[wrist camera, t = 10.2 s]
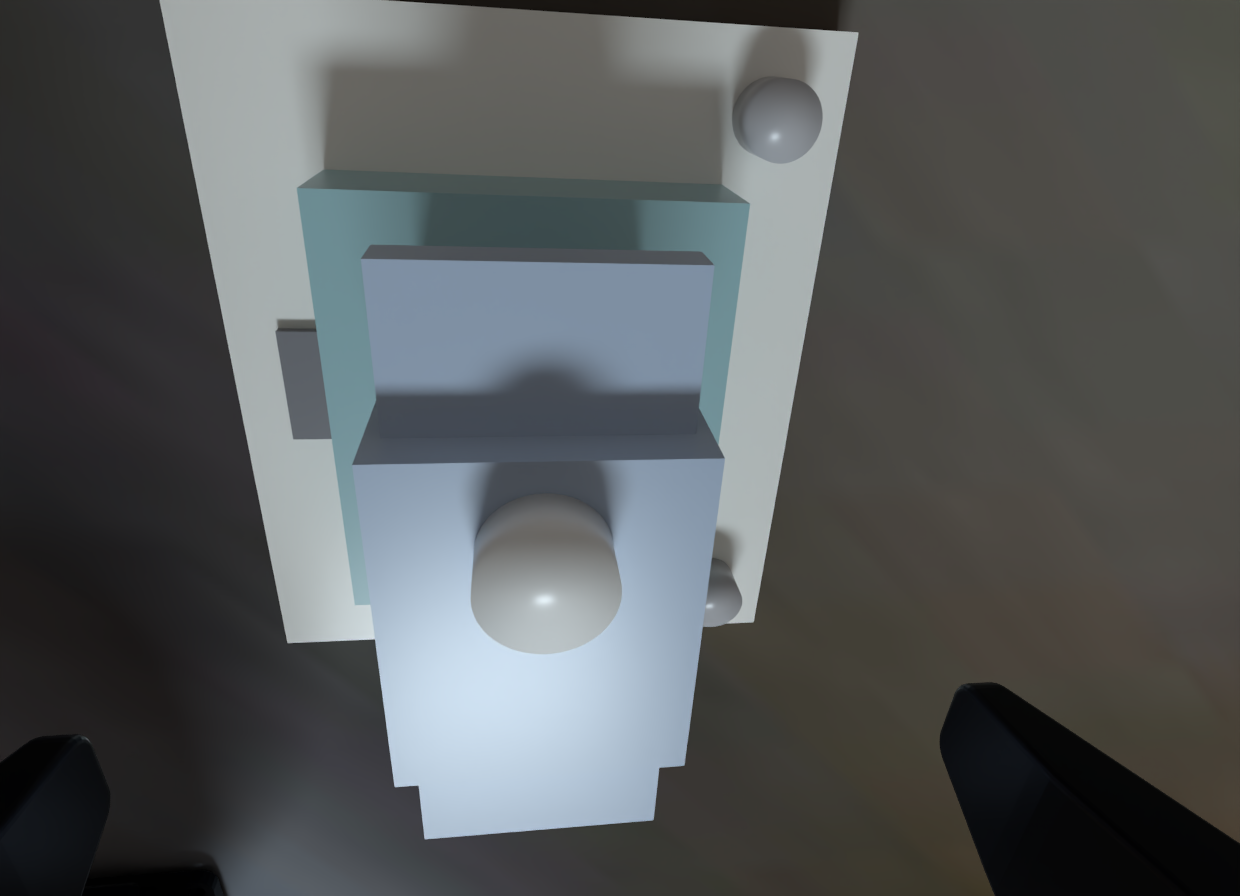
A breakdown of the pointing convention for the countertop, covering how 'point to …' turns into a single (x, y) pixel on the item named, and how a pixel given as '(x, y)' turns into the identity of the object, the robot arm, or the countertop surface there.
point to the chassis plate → (494, 220)
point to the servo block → (536, 526)
